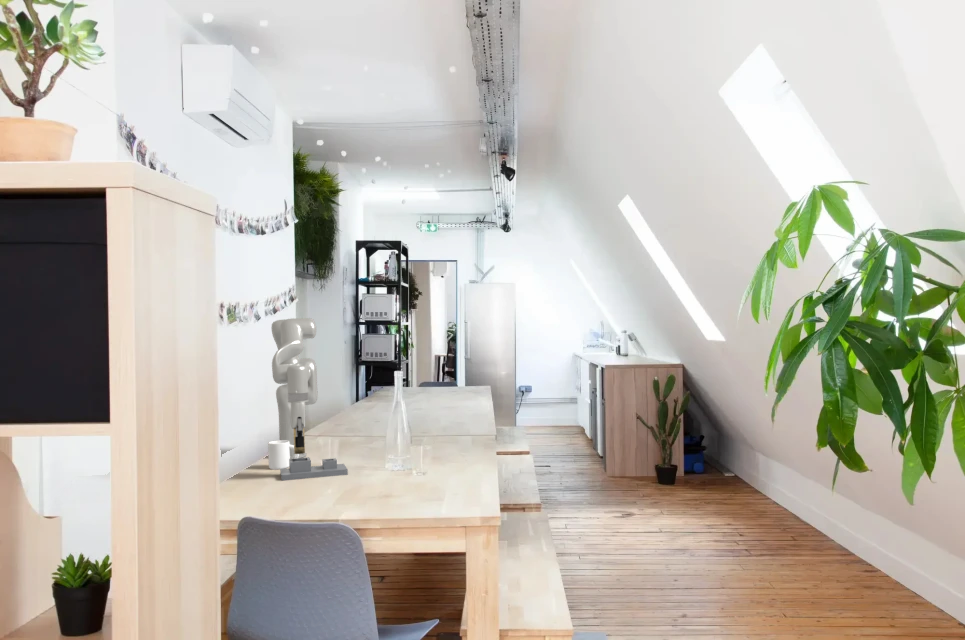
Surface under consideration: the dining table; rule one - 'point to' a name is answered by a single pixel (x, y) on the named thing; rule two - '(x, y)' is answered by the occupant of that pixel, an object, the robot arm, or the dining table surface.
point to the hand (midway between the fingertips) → (299, 445)
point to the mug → (279, 454)
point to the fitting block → (312, 469)
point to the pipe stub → (300, 449)
